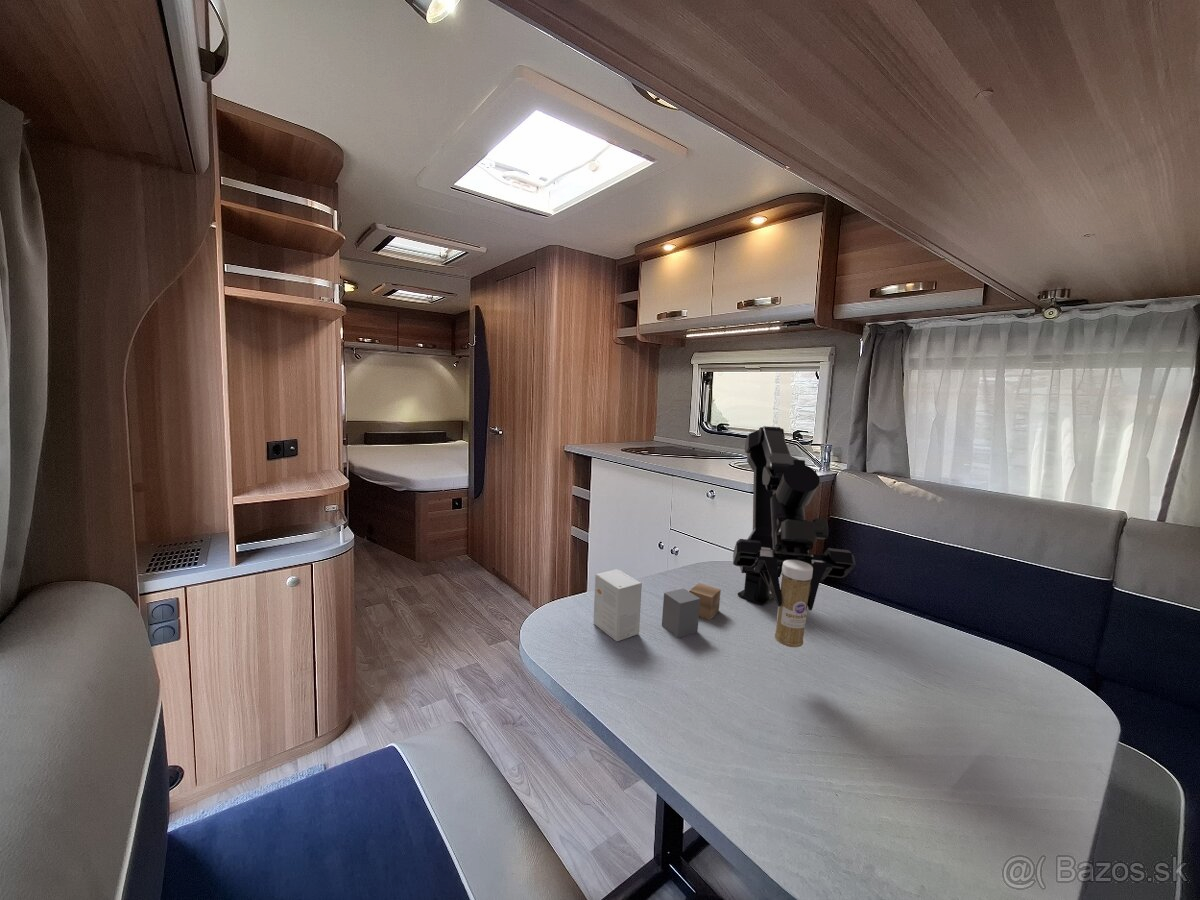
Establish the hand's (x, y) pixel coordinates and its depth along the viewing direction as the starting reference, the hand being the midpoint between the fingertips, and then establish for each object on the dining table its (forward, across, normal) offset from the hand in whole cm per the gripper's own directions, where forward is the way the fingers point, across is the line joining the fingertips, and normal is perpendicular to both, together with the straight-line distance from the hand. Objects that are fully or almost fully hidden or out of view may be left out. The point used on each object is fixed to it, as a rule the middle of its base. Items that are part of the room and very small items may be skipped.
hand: (794, 607), depth 76 cm
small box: (+3, -30, +16) cm, 34 cm away
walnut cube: (-6, -13, +25) cm, 29 cm away
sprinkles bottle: (+4, 0, +6) cm, 7 cm away
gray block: (0, -18, +19) cm, 26 cm away
